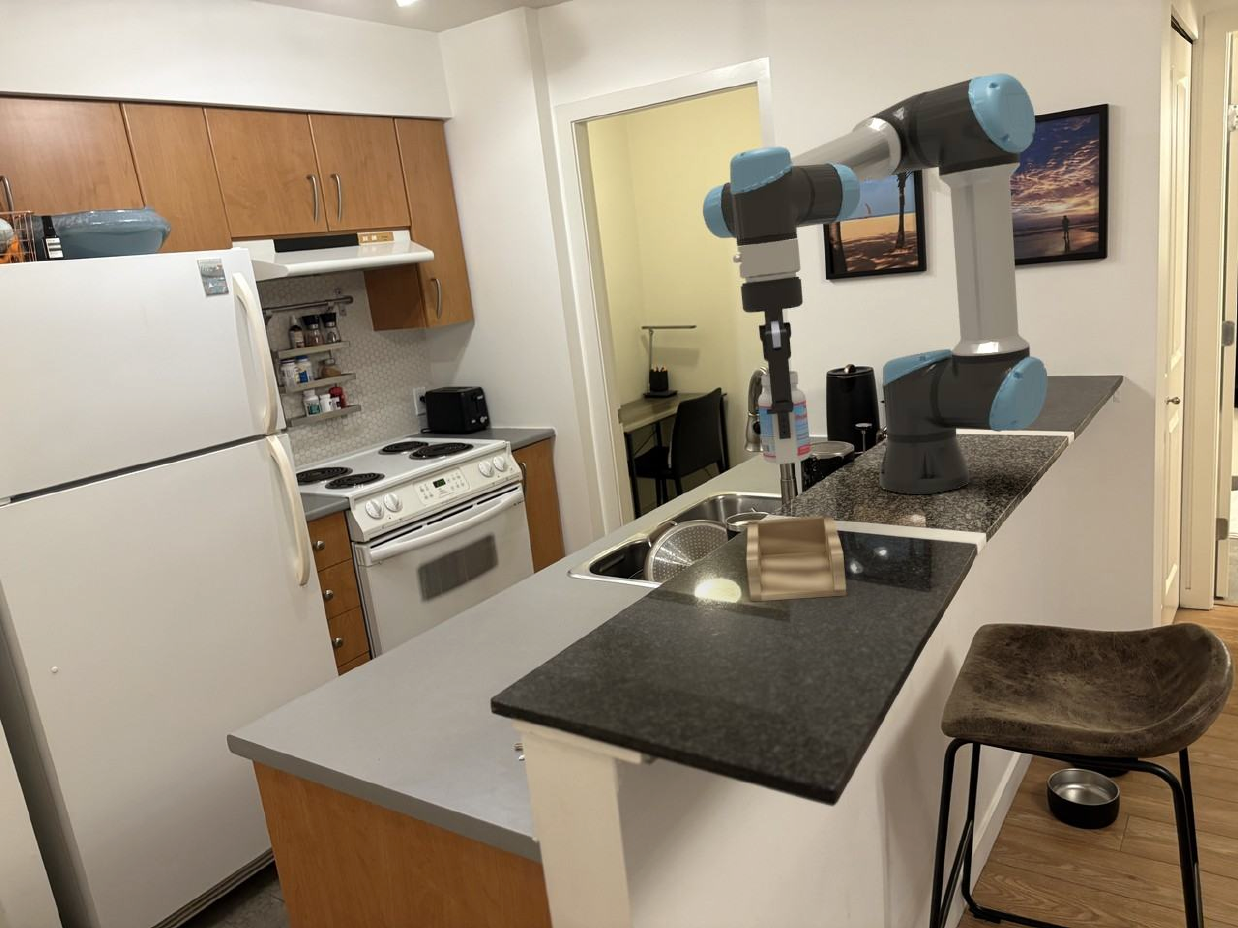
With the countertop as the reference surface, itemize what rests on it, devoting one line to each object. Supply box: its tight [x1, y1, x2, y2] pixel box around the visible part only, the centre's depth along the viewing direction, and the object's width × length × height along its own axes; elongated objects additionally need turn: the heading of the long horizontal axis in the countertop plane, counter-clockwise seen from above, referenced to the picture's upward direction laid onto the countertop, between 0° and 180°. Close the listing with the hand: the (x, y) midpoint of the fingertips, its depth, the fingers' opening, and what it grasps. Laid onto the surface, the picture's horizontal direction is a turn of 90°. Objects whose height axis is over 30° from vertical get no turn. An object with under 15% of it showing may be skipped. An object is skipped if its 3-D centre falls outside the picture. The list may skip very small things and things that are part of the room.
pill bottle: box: [757, 370, 811, 464], centre depth 119 cm, size 6×6×11 cm
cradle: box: [746, 514, 847, 602], centre depth 125 cm, size 18×12×6 cm
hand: (786, 456), depth 120 cm, fingers closed on pill bottle, 6 cm apart
